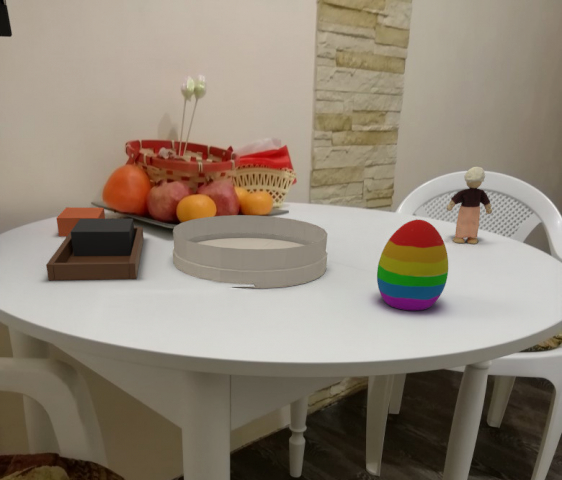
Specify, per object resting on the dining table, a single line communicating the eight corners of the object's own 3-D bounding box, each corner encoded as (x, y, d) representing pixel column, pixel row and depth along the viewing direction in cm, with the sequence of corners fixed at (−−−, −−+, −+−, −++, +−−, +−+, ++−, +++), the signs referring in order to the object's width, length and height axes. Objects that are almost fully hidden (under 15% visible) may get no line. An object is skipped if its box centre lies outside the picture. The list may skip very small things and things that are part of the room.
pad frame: (49, 285, 68) (45, 264, 67) (75, 243, 87) (73, 226, 85) (136, 283, 70) (134, 263, 68) (143, 243, 88) (142, 226, 87)
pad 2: (73, 256, 78) (70, 231, 76) (82, 241, 86) (79, 218, 84) (131, 255, 79) (129, 231, 77) (135, 240, 87) (133, 218, 86)
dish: (212, 240, 91) (211, 210, 89) (340, 255, 86) (343, 223, 84) (143, 275, 73) (140, 238, 70) (302, 297, 67) (305, 257, 65)
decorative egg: (399, 288, 72) (410, 210, 67) (454, 305, 66) (470, 222, 62) (360, 301, 66) (369, 217, 62) (416, 320, 61) (430, 230, 57)
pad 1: (59, 239, 88) (56, 217, 87) (68, 227, 96) (65, 207, 95) (100, 239, 90) (97, 217, 88) (106, 227, 98) (104, 207, 96)
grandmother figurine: (478, 239, 100) (492, 165, 94) (487, 244, 96) (503, 168, 90) (437, 239, 99) (450, 164, 93) (446, 244, 95) (459, 167, 90)
